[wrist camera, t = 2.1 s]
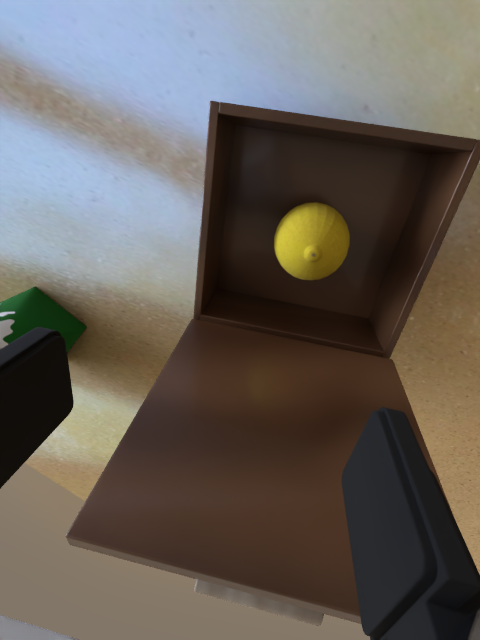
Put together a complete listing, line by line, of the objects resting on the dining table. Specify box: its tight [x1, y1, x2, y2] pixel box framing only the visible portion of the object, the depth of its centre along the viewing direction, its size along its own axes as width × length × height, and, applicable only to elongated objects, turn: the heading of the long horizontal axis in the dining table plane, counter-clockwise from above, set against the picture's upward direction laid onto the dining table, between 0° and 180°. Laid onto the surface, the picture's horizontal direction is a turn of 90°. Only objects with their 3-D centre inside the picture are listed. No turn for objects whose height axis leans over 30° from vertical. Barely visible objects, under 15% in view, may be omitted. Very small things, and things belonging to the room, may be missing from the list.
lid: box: [66, 319, 452, 626], centre depth 19 cm, size 16×16×6 cm
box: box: [194, 101, 480, 359], centre depth 24 cm, size 15×16×7 cm
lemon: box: [274, 202, 350, 280], centre depth 23 cm, size 6×6×8 cm
